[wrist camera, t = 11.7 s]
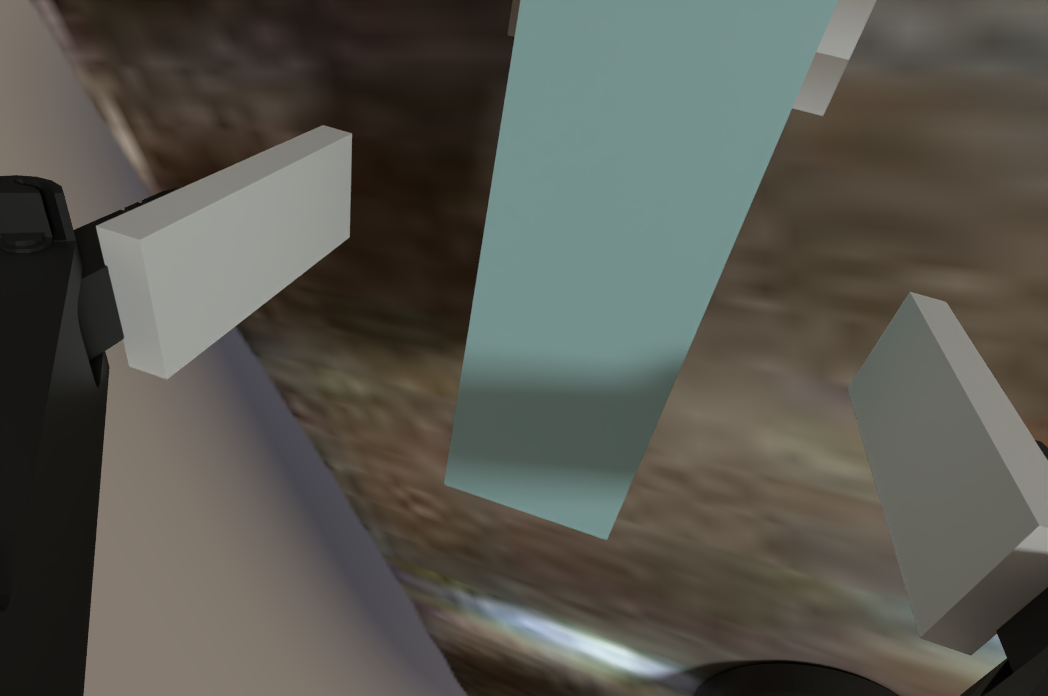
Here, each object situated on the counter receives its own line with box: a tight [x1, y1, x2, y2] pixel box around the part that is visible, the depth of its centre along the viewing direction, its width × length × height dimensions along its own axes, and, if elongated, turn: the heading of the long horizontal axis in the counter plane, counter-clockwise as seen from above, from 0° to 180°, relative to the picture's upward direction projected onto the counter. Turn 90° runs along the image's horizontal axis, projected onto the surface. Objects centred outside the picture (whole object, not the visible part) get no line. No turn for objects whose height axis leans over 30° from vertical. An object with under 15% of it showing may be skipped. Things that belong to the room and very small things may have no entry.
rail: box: [444, 0, 838, 540], centre depth 18 cm, size 16×5×13 cm, turn 169°
